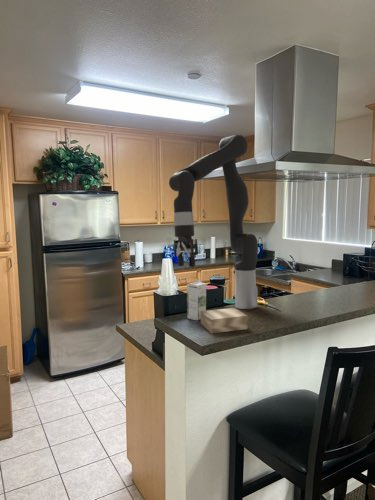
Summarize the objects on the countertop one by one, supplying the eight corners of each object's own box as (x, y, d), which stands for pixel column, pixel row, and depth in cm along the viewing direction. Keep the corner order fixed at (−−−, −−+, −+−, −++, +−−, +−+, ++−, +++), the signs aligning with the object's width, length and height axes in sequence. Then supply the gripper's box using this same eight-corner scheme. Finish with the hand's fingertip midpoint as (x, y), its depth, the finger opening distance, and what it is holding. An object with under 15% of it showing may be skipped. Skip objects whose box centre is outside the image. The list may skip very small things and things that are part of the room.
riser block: (234, 320, 144) (234, 307, 144) (247, 328, 133) (247, 315, 132) (200, 323, 140) (200, 311, 140) (211, 333, 129) (211, 319, 128)
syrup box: (195, 315, 152) (194, 281, 151) (206, 317, 148) (206, 282, 147) (186, 318, 148) (186, 283, 146) (198, 321, 144) (197, 285, 143)
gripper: (202, 223, 135) (204, 266, 135) (183, 225, 147) (185, 264, 148) (184, 223, 131) (187, 268, 132) (166, 225, 143) (169, 266, 144)
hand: (186, 266), depth 140 cm, fingers open, 8 cm apart
